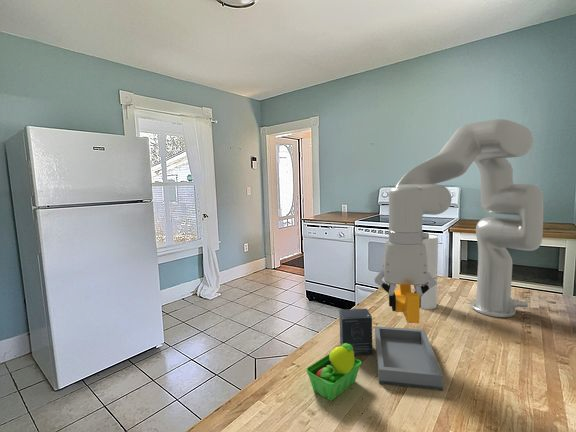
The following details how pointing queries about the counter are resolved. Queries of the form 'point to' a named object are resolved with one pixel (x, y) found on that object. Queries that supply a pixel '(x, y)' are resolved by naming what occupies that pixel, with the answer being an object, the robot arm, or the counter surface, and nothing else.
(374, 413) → the counter surface
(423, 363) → the tray
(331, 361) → the fruit basket
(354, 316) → the box
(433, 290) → the cylindrical container
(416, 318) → the orange toy block
